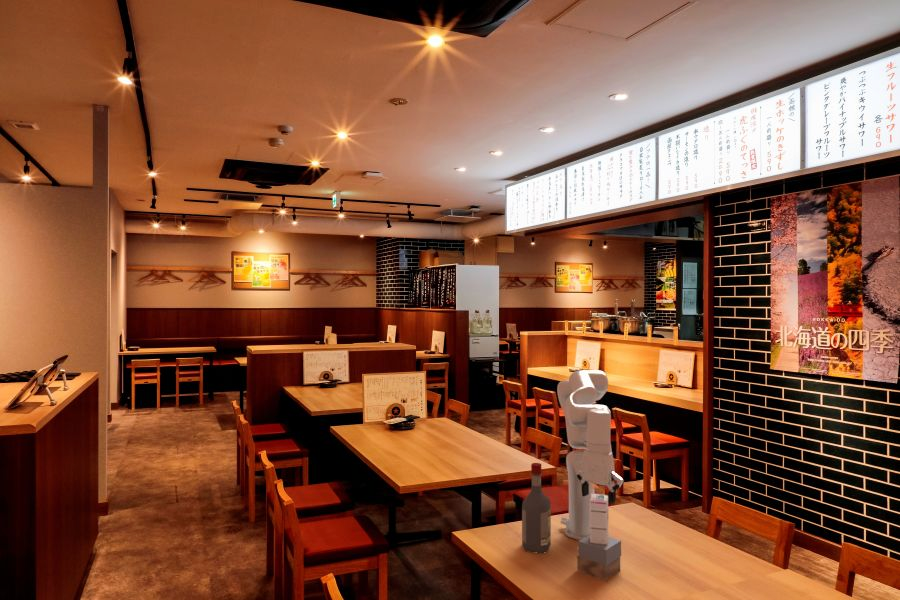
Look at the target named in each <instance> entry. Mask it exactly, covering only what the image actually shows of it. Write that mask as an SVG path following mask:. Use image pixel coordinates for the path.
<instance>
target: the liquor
mask: <svg viewBox="0 0 900 600" xmlns="http://www.w3.org/2000/svg"><path fill="white" fill-rule="evenodd" d="M530 468H531V473H530V474H531V488H530V492H529V493H528V494H527V496H526V497H525V498H524V499H523V500H522V504H521V546H522V548H524V549H525V551H526V552H527V551H530V552H529V553H533V552H537V553H536V554H539V553H541V554H545V553H544V552H546V553H547V552H548V551H547V550H549V548H550V546H551V545H552V544H551V543H552V540H551V537H552V536H551V535H552V534H551V533H552V532H551V531H552V530H551V529H552V528H551V527H552V526H551V524H552V523H551V520H552V519H551V517H552V515H551V514H552V512H551V507H552V505H551V504H552V503H551V501H550V498H549V497H548V496H547V495H546V494H545V493H544V491H543V488H542V463H539V462H533V463H531V467H530ZM524 549H523V550H524Z"/></svg>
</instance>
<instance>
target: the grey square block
mask: <svg viewBox="0 0 900 600" xmlns="http://www.w3.org/2000/svg"><path fill="white" fill-rule="evenodd" d="M577 543H578V546H577V547H578V548H577V549H578V554H577V555H578V556H579V557H582V558H585V559H587V560H590V561H593V562H596V563H599V564H602V565H605V566H607V565H608V564H610V563H611V562H613V561H614V560H616V559H617V558H619V557H620V558H621V556H622V540H621V539H619V538H618V539H617V538H614V537H611V536H608V545H604V544H595V543H591V542H590V535H588V536H587V537H585V538H583V539H581V540H578V542H577Z"/></svg>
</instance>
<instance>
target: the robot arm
mask: <svg viewBox="0 0 900 600" xmlns="http://www.w3.org/2000/svg"><path fill="white" fill-rule="evenodd" d="M608 388H609V380H608V375H606V373H605V372H604V371H603V370H594V369H593V370H590V369H589V370H588V369H587V370H586V369H585V370H581V369H580V370H575V371H574V372H572V373H570V375H569V377H568V378H567V379H563V380H561V381H560V382H558V384H557V388H556V390H557V398H558V401H559V404H560V407H561V409H562V411H563V413H564V419H565V427H566V436H567V437H566V438H567V441H568V445H569V446H570V447H571V448H572V449H575V450H572V451H570V452H569V453H567V455H566V458H565V459H566V460H565V462H566V469H567V470H566V471H567V478H568V517H565V516H562V517H561V519H560V520H561V521H560V524H561V525H565V528H564V534H565V535H566V536H567V537H569V538H570V539H573V540H578V541H580V540H581V539H583V538H585V537H587V536H588V535H590V496H591V494H595V487H594V485H593V484H598V485H601V486H606V487H607V489H608V490H609V491H608V494H607V495H608V505H611V504H614V503H615V502H616V500H617V492H616V491H618V490H619V489H620V488H621V487H622V485H623V483H624V481H625V480H624V479H623V478H622V477H621V476H620V475H619V474H618V473H616V472H615V462H614V461H615V460H614V455H613V451H612V443H611V424H612V423H611V419H612V415H611V414H612V412H611V410H610V409H609V407H608V406H607V405H604V404H595V402H596V401H599V400H601V399H602V398H603V397H604V395H605V394H606V393H607V391H608ZM576 449H577V450H576ZM615 481H616V483H615Z"/></svg>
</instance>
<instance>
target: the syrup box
mask: <svg viewBox="0 0 900 600" xmlns="http://www.w3.org/2000/svg"><path fill="white" fill-rule="evenodd" d="M608 537H609V503H608V494H602V493H594V494H591V496H590V542H591V543H595V544H604V545H608Z"/></svg>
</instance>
